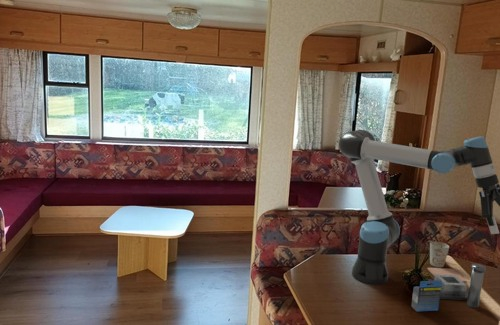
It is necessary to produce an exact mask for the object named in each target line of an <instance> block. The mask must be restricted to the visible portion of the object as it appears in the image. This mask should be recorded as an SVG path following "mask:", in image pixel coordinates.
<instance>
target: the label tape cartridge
mask: <svg viewBox="0 0 500 325" xmlns="http://www.w3.org/2000/svg"><path fill="white" fill-rule="evenodd" d="M430 283H432V284H434V285H427V284H430ZM441 284H442V280H440V281H425V280H421V281H420V282H419V286H413V289H412V290H413V291H412V297H411V304H410V305H411V306H410V307H411V308H412V309H413V310H415V312H430V311H431V312H433V311H439V305H440V300H441V299H440V291H441Z"/></svg>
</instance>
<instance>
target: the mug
mask: <svg viewBox="0 0 500 325" xmlns="http://www.w3.org/2000/svg"><path fill="white" fill-rule="evenodd" d="M449 249H450V246H449V245H448V244H447V243H445V242H441V241H431V242H429V264H430V266H433V267H434V268H443V267H444V266H445V263H446V260H447V256H448V253H449V251H450V250H449Z"/></svg>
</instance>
